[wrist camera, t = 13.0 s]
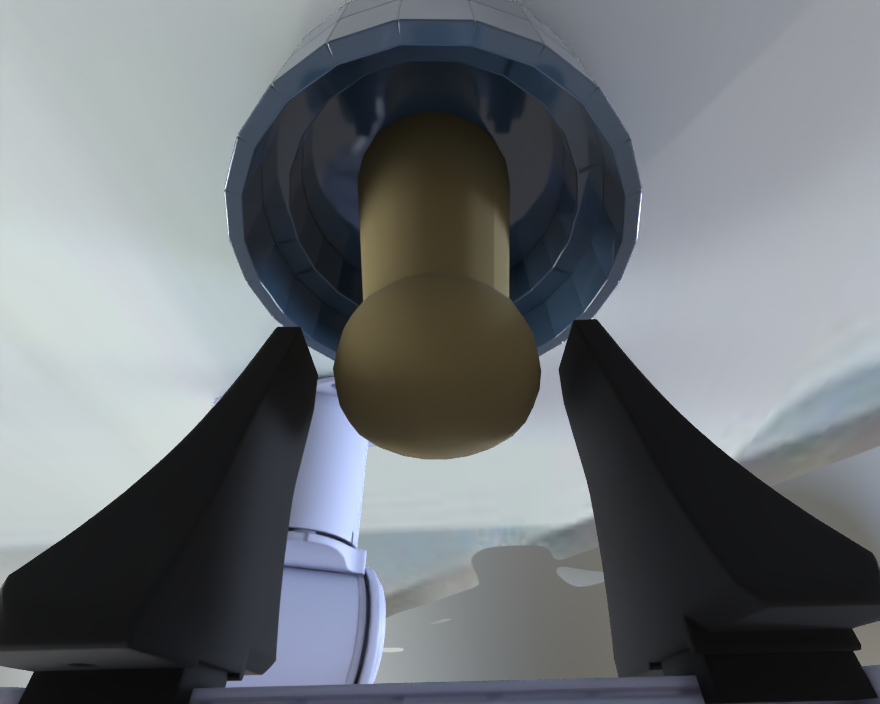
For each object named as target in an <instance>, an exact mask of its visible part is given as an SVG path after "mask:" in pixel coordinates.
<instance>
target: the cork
mask: <svg viewBox="0 0 880 704" xmlns="http://www.w3.org/2000/svg"><path fill="white" fill-rule="evenodd" d="M358 199H359V221H360V243H361V265H362V287H363V302H362V304H361V305H360V306H359V307H358V308H357V309H356V310H355V311H354V313H353V314H352V315H351V317H350V319H349V320H348V322H347V324H346V325H345V327H344V329H343V332H342V335H341V339H340V342H339V345H338V349H337V353H336V357H335V362H334V367H333V371H334V379H335V387H336V391H337V396H338V401H339V405H340V407H341V409H342V411H343V412H344V414H345V416H346V418H347V420H348V421H349V422H350V424H351V425H352V426H353V427H354V429H355V430H356V431H357V432H358V434H359V435H360V436H362V437H363V438H365V439H366V440H368V441H370V442H371V443H373V444H374V445H376V446H378V447H380V448H383V449H386V450H388V451H391V452H394V453H397V454H400V455H402V456H408V457H414V458H420V459H452V458H459V457H465V456H470V455H473V454H476V453H479V452H482V451H485V450H488V449H490V448H492V447H495V446H496V445H498V444H500V443H501V442H503V441H505V440H507V439H508V438H510V437H512V436H513V435H514V434H515V433H516V432H517V431H518V430H519V429H520V427H521V426H522V425H523V424H524V423H525V422H526V420H527V418H528V416H529V414H530V412H531V410H532V408H533V406H534V403H535V400H536V398H537V395H538V392H539V389H540V377H541V368H540V362H539V356H538V350H537V346H536V342H535V338H534V334H533V332H532V330H531V329H530V327H529V325H528V324H527V322H526V321H525V319H524V318H523V316H522V315H521V313H520V312H519V311H518V309H517V308H516V306H515V305H514V304H513V302H512V301H511V299H509V232H510V182H509V176H508V170H507V164H506V160H505V158H504V156H503V155H502V153H501V151H500V149H499V147H498V146H497V144H496V142H495V140H494V139H493V138H492V137H491V136H489V135H488V134H487V133H486V132H485V131H484V130H483V129H482V128H480V127H479V126H478V125H477V124H476V123H474V122H472V121H469V120H467V119H464V118H462V117H459V116H457V115H454V114H452V113H440V112H421V113H418V114H415V115H411V116H408V117H405V118H401V119H398V120H397V121H395V122H394V123H393V124H391V125H390V126H388V127H387V128H386V129H384V130H383V131H382V132H380V133H379V134H378V135H377V136H376V137H375V139H374V140H373V142H372V143H371V145H370V146H369V148H368V149H367V151H366V152H365V154H364V155H363V159H362V163H361V167H360V171H359V175H358Z"/></svg>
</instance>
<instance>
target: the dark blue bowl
mask: <svg viewBox="0 0 880 704" xmlns="http://www.w3.org/2000/svg"><path fill="white" fill-rule="evenodd" d="M421 112H440V113H452V114H454V115H457V116H459V117H462V118H464V119H467V120H469V121H472V122H474V123H476V124H477V125H478V126H479V127H480V128H482V129H483V130H484V131H485V132H486V133H487V134H488V135H489V136H491V137H492V138H493V139H494V140H495V142H496V144H497V146H498V147H499V149H500V151H501V153H502V155H503V156H504V158H505V160H506V164H507V170H508V176H509V182H510V232H509V299H511V301H512V302H513V304H514V305H515V306H516V308H517V309H518V311H519V312H520V313H521V315H522V316H523V318H524V319H525V321H526V322H527V324H528V325H529V327H530V329H531V330H532V332H533V334H534V338H535V342H536V346H537V350H538V356H540V355H542V354H544V353H546V352H547V351H549V350H551V349H553V348H555V347H556V346H558V345H560V344H562V343H563V342H565V341H566V340H567V339H568V336H569V333H570V330H571V326H572V323H573V320H587V319H591V318H592V317H594V315H595V314H596V313H597V312H598V310H599V309H600V308H601V306H602V305H603V304H604V302H605V301H606V300H607V298H608V297H609V296H610V294H611V293H612V292H613V290H614V289H615V288H616V286H617V285H618V283H619V282H620V280H621V278H622V276H623V273H624V271H625V268H626V266H627V263H628V261H629V258H630V256H631V253H632V251H633V249H634V246H635V244H636V241H637V238H638V228H639V218H640V208H641V198H642V186H641V182H640V177H639V173H638V168H637V164H636V159H635V155H634V151H633V146H632V142H631V139H630V136H629V134H628V132H627V131H626V129H625V128H624V126H623V124H622V123H621V121H620V120H619V118H618V116H617V115H616V113H615V112H614V110H613V108H612V107H611V105H610V104H609V102H608V100H607V99H606V97H605V96H604V94H603V92H602V91H601V89H600V88H599V86H598V85H597V84H596V83H595V81H594V80H593V79H592V77H591V76H590V75H589V74H588V72H587V71H586V70H585V68H584V67H583V66H582V65H581V63H580V62H579V61H578V60H577V58H576V57H575V56H574V54H573V53H572V52H571V51H570V49H569V48H568V47H567V45H566V44H565V43H564V42H563V41H562V39H561V38H560V37H559V36H558V35H556V34H555V33H554V32H553V31H551V30H550V29H549V28H548V27H547V26H545V25H544V24H543V23H542V22H540V21H539V20H538V19H537V18H536V17H534V16H533V15H532V14H531V13H529V12H528V11H527V10H526V9H524V8H523V7H522V6H521V5H518V4H517V3H515V2H513V1H510V0H353V1H351V2H350V3H347V4H346V5H344V6H343V7H342V8H341V9H339V10H338V11H337V12H335V13H334V14H333V15H332V16H330V17H329V18H328V19H326V20H325V21H324V22H323V23H321V24H320V25H319V26H317V27H316V28H315V29H314V30H312V31H311V32H310V33H309V34H307V35H306V36H305V37H304V38H303V40H302V41H301V43H300V44H299V45H298V47H297V48H296V49H295V51H294V52H293V54H292V55H291V56H290V58H289V59H288V61H287V62H286V63H285V65H284V66H283V68H282V69H281V70H280V72H279V73H278V74H277V76H276V77H275V79H274V80H273V81H272V83H271V84H270V86H269V87H268V89H267V90H266V92H265V93H264V95H263V96H262V98H261V99H260V101H259V102H258V104H257V106H256V107H255V109H254V110H253V112H252V113H251V115H250V116H249V118H248V119H247V121H246V122H245V124H244V125H243V127H242V129H241V130H240V132H239V133H238V136H237V138H236V142H235V146H234V150H233V154H232V159H231V163H230V167H229V171H228V175H227V180H226V184H225V190H224V193H225V204H226V215H227V226H228V236H229V239H230V243H231V246H232V248H233V250H234V253H235V255H236V258H237V260H238V263H239V265H240V268H241V270H242V273H243V275H244V278H245V280H246V281H247V284H248V285H249V286H250V288H251V289H252V290H253V292H254V293H255V294H256V296H257V297H258V298H259V300H260V301H261V302H262V304H263V305H264V306H265V308H266V309H267V310H268V312H269V313H270V314H271V316H273V318H274V319H276V320H277V321H278V322H279V323H280V324H281V325H283V326H284V327H299V326H300V327H301V329H302V332H303V335H304V338H305V341H306V343H307V346H309V347H311V348H312V349H314V350H316V351H318V352H320V353H322V354H323V355H325V356H327V357H329V358H331V359H332V360H334V361H335V357H336V353H337V349H338V345H339V342H340V339H341V335H342V332H343V329H344V327H345V325H346V324H347V322H348V320H349V319H350V317H351V315H352V314H353V313H354V311H355V310H356V309H357V308H358V307H359V306H360V305H361V304H362V302H363V287H362V265H361V243H360V221H359V199H358V175H359V171H360V167H361V163H362V159H363V155H364V154H365V152H366V151H367V149H368V148H369V146H370V145H371V143H372V142H373V140H374V139H375V137H376V136H377V135H378V134H379V133H380V132H382V131H383V130H384V129H386V128H387V127H388V126H390V125H391V124H393V123H394V122H395V121H397V120H398V119H401V118H405V117H408V116H411V115H415V114H418V113H421Z"/></svg>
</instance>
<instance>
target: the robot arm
mask: <svg viewBox="0 0 880 704" xmlns="http://www.w3.org/2000/svg"><path fill="white" fill-rule="evenodd" d="M559 375H560V382H561V388H562V394H563V400H564V405H565V408H566V412H567V415H568V419H569V422H570V426H571V429H572V432H573V436H574V439H575V442H576V446H577V449H578V452H579V456H580V459H581V463H582V466H583V469H584V473H585V476H586V480H587V484H588V488H589V492H590V497H591V502H592V508H593V513H594V518H595V524H596V529H597V535H598V541H599V547H600V553H601V559H602V565H603V573H604V580H605V586H606V593H607V601H608V609H609V617H610V625H611V633H612V642H613V653H614V660H615V664H616V668H617V672H618V677H617V678H580V679H579V678H577V679H544V680H543V679H538V680H500V681H461V682H423V683H383V684H373V682H374V680H375V677H376V674H377V671H378V668H379V664H380V660H381V656H382V651H383V645H384V637H385V624H386V606H385V597H384V592H383V588H382V586H381V584H380V582H379V580H378V577H377V575H376V573H375V572H374V570H372V569H371V568H367V567H365V563H366V550H361V549H357V546H358V536H359V526H360V516H361V507H362V497H363V487H364V478H365V468H366V458H367V449H368V447H372V446H376V445H374V444H373V443H371V442H370V441H368V440H366V439H365V438H363V437H362V436H360V435H359V434H358V432H357V431H356V430H355V429H354V427H353V426H352V425H351V424H350V422H349V421H348V420H347V418H346V416H345V414H344V412H343V411H342V409H341V407H340V405H339V401H338V396H337V391H336V387H335V379H334V377H328V378H323V379H318V374H317V371H316V368H315V366H314V363H313V360H312V357H311V354H310V352H309V349H308V346H307V343H306V341H305V338H304V335H303V332H302V329H301V327H300V326H299V327H277V328H276V329H275V330H274V331H273V333H272V334H271V335H270V337H269V338H268V339H267V341H266V342H265V343H264V345H263V346H262V347H261V349H260V350H259V351H258V353H257V354H256V355H255V357H254V358H253V359H252V360H251V362H250V363H249V364H248V366H247V367H246V368H245V370H244V371H243V372H242V373H241V374H240V376H239V377H238V378H237V379H236V381H235V382H234V383H233V384H232V386H231V387H230V388H229V389H228V391H227V392H226V393H225V394H224V395H223V397H219V398H215V399H214V400H213V402H212V406H213V408H212V409H211V410H210V411H209V412H208V413H207V415H206V416H205V417H204V418H203V419H202V420H201V421H200V422H199V423H198V424H197V426H196V427H195V428H194V429H193V430H192V431H191V432H190V433H189V434H188V435H187V436H186V437H185V438H184V439H183V440H182V441H181V442H180V443H179V444H178V445H177V446H176V447H175V448H174V449H173V450H172V451H171V452H170V453H168V454H167V455H166V456H165V457H164V458H163V459H162V460H161V461H160V462H159V463H158V464H156V465H155V466H154V467H153V468H152V469H151V470H150V471H149V472H147V473H146V474H145V475H144V476H143V477H142V478H140V479H139V480H138V481H137V482H136V483H135V484H133V485H132V486H131V487H130V488H129V489H128V490H126V491H125V492H124V493H123V494H122V495H120V496H119V497H118V498H116V499H115V500H114V501H113V502H111V503H110V504H109V505H107V506H106V507H105V508H104V509H102V510H101V511H100V512H99V513H97V514H96V515H95V516H93V517H92V518H91V519H89V520H88V521H87V522H85V523H84V524H83V525H81V526H80V527H79V528H77V529H76V530H74V531H73V532H72V533H70V534H69V535H67V536H66V537H65V538H63V539H62V540H60V541H59V542H57V543H56V544H54V545H53V546H51V547H50V548H49V549H47V550H46V551H44V552H43V553H41V554H40V555H38V556H37V557H35V558H34V559H32V560H31V561H30V562H28V563H27V564H25V565H24V566H22V567H21V568H19V569H18V570H16V571H15V572H13V573H12V574H10V575H9V576H8V577H7V579H6V580H5V582H4V584H3V585H2V587H1V589H0V666H4V667H10V668H16V669H22V670H27V671H33V672H34V673H33V675H32V677H31V679H30V681H29V683H28V685H27V687H26V688H18V687H0V704H880V665H871V666H861V665H860V663H859V661H858V659H857V657H856V655H855V654H854V652H853V651H856V650H861V644H860V642H859V640H858V638H857V637H856V635H855V633H854V631H853V630H852V628H855V627H858V626H862V625H865V624H869V623H872V622H876V621H880V563H879V562H878V560H877V559H876V558H875V556H874V555H873V553H871V552H870V551H868V550H867V549H865V548H863V547H862V546H860V545H859V544H857V543H855V542H854V541H852V540H850V539H849V538H847V537H846V536H844V535H842V534H841V533H839V532H837V531H836V530H834V529H833V528H831V527H829V526H828V525H826V524H824V523H823V522H821V521H819V520H818V519H816V518H815V517H813V516H812V515H810V514H808V513H807V512H805V511H804V510H803V509H801V508H800V507H798V506H797V505H795V504H794V503H792V502H791V501H789V500H788V499H786V498H785V497H783V496H782V495H781V494H779V493H778V492H776V491H775V490H773V489H772V488H771V487H769V486H768V485H766V484H765V483H764V482H762V481H761V480H760V479H758V478H757V477H756V476H754V475H753V474H752V473H750V472H749V471H748V470H746V469H745V468H744V467H743V466H741V465H740V464H739V463H737V462H736V461H735V460H733V459H732V458H731V457H730V456H728V455H727V454H726V453H725V452H723V451H722V450H721V449H720V448H718V447H717V446H716V445H715V444H714V443H713V442H711V441H710V440H709V439H708V438H707V437H706V436H705V435H703V434H702V433H701V432H700V431H699V430H698V429H697V428H695V427H694V426H693V425H692V424H691V423H690V422H689V421H688V420H687V419H686V418H685V417H684V416H683V415H681V414H680V413H679V412H678V411H677V410H676V409H675V408H674V407H673V406H672V405H671V404H670V403H669V402H668V401H667V400H666V399H665V398H664V396H663V395H662V394H661V393H660V392H659V391H658V390H657V389H656V388H655V387H654V386H653V385H652V384H651V383H650V381H649V380H648V379H647V378H646V377H645V376H644V375H643V374H642V373H641V371H640V370H639V369H638V368H637V367H636V366H635V365H634V363H633V362H632V361H631V360H630V359H629V358H628V356H627V355H626V354H625V353H624V352H623V350H622V349H621V348H620V347H619V346H618V344H617V343H616V342H615V341H614V340H613V338H612V337H611V336H610V335H609V333H608V332H607V331H606V330H605V329H604V327H603V326H602V325H601V324H600V323H599V321H598V320H597V319H587V320H573V323H572V326H571V330H570V333H569V336H568V340H567V343H566V346H565V350H564V353H563V357H562V360H561V363H560V367H559Z"/></svg>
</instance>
